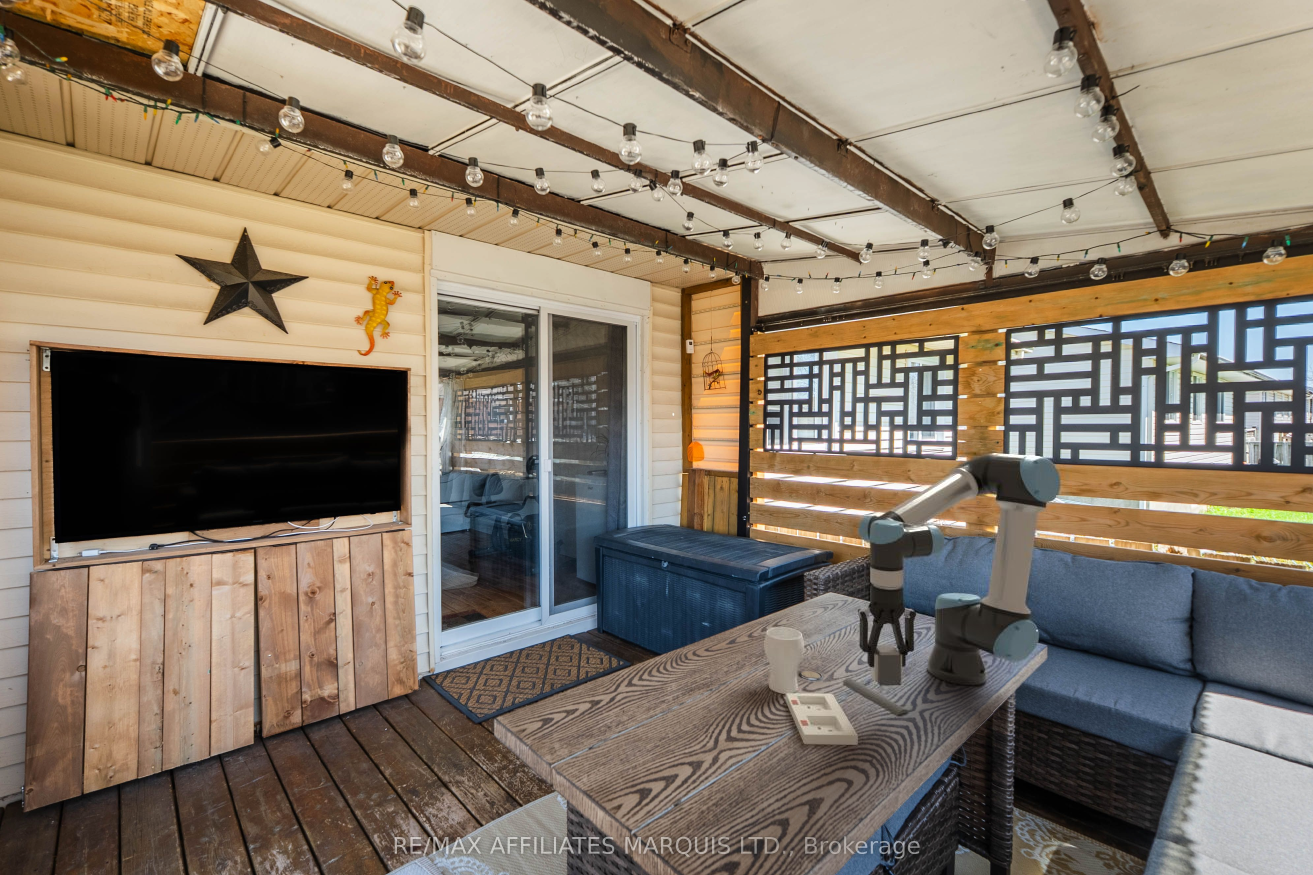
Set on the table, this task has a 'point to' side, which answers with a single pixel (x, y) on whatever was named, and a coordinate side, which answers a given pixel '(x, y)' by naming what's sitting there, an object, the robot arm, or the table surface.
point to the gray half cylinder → (875, 697)
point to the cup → (783, 657)
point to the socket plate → (820, 719)
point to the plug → (888, 665)
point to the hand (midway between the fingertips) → (886, 678)
